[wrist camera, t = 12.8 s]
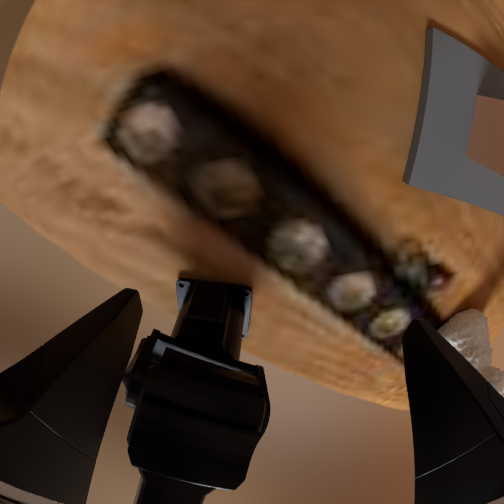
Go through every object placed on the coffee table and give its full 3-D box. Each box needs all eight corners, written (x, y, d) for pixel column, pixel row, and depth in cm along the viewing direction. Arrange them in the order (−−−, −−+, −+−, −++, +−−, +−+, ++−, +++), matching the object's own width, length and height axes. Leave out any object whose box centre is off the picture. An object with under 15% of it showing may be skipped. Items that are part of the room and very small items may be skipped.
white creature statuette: (410, 351, 27) (435, 437, 17) (447, 298, 22) (493, 392, 12) (458, 349, 27) (485, 420, 17) (493, 303, 23) (534, 377, 13)
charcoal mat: (509, 215, 17) (514, 220, 16) (402, 180, 17) (408, 185, 16) (534, 103, 10) (541, 105, 9) (426, 29, 10) (433, 27, 9)
